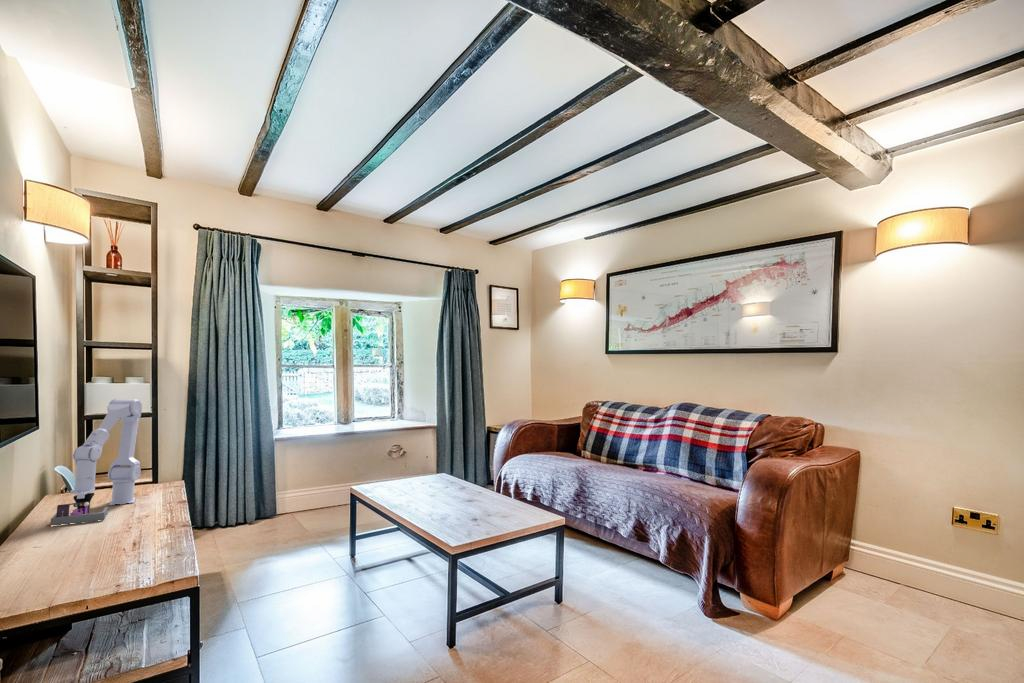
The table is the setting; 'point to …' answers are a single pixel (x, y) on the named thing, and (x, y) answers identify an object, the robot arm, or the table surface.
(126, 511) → the table surface
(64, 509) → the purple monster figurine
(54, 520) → the holder
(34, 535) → the table surface
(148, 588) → the table surface
